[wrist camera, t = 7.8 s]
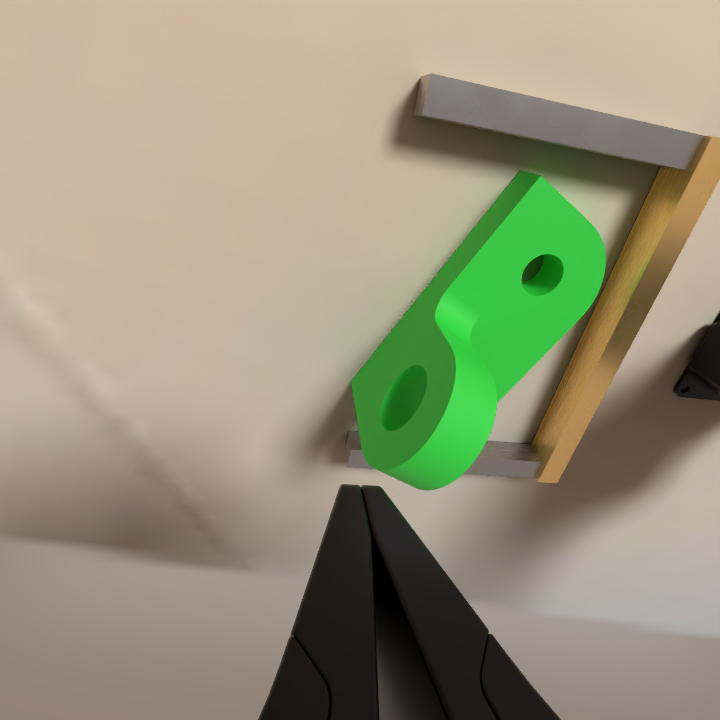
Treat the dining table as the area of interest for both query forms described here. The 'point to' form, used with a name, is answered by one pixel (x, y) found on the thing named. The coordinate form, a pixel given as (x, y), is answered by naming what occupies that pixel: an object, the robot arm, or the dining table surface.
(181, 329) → the dining table surface
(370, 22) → the dining table surface
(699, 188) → the u-shaped frame
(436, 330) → the mechanical part
